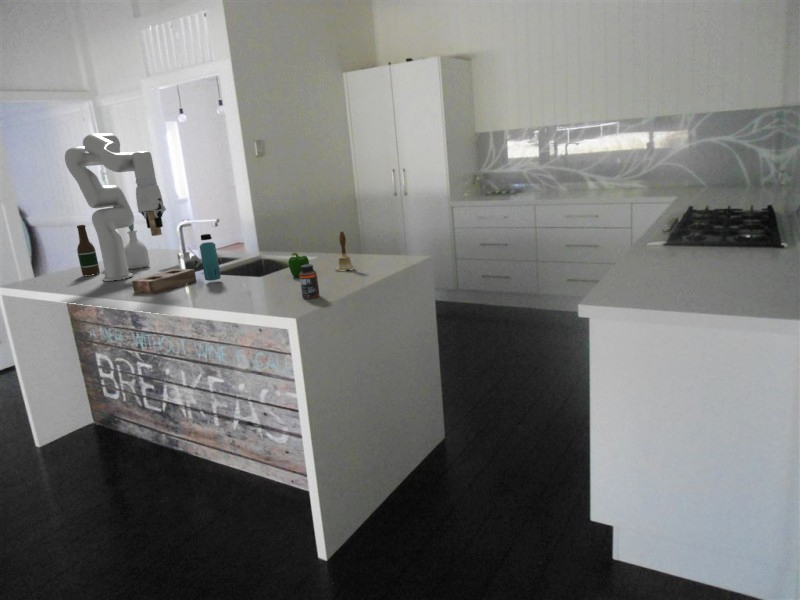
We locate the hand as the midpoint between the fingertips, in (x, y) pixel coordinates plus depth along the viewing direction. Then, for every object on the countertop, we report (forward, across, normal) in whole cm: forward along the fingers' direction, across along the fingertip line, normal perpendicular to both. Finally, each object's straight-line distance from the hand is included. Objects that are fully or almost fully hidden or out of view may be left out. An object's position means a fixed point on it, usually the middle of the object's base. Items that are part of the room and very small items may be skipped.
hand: (155, 227), depth 250 cm
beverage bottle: (+24, +23, +2) cm, 34 cm away
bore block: (+24, +6, -6) cm, 25 cm away
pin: (+3, 0, 0) cm, 3 cm away
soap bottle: (+23, -46, +30) cm, 60 cm away
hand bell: (+25, +71, +28) cm, 80 cm away
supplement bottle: (+25, +81, -17) cm, 86 cm away
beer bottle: (+23, -59, +14) cm, 65 cm away
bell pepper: (+25, +57, +15) cm, 64 cm away
